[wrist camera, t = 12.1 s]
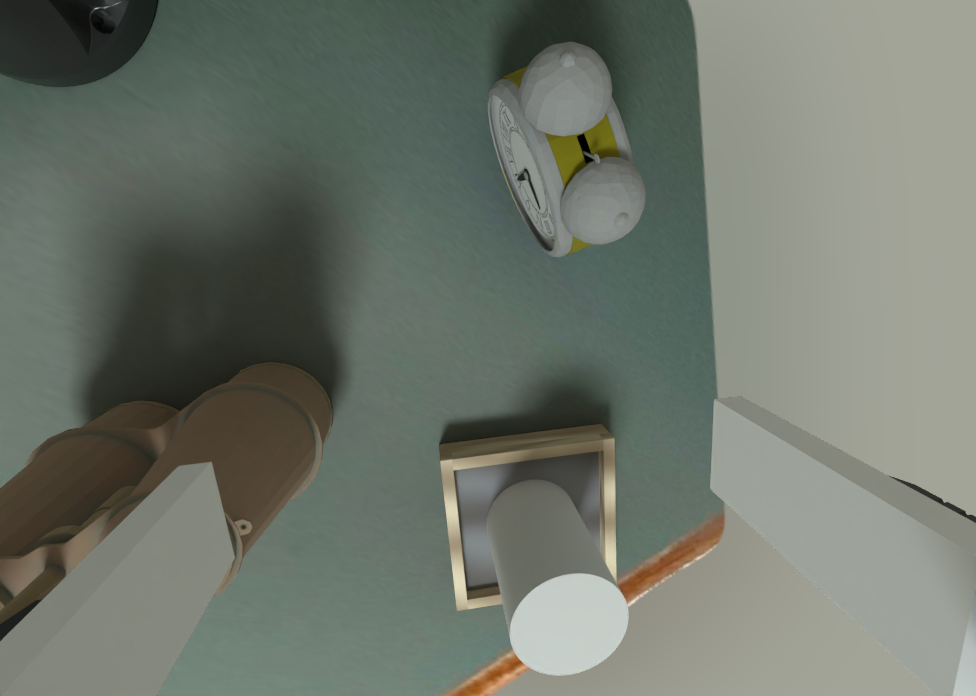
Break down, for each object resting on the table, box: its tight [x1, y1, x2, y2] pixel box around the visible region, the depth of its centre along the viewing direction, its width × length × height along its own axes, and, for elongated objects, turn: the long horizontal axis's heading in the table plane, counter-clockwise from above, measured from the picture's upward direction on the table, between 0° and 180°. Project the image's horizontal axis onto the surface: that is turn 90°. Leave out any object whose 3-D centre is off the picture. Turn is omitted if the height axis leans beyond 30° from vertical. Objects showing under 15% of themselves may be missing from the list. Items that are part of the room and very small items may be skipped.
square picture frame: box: [439, 424, 616, 611], centre depth 45 cm, size 15×15×3 cm
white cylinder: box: [486, 479, 629, 675], centre depth 38 cm, size 8×8×12 cm
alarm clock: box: [487, 42, 645, 257], centre depth 32 cm, size 12×7×15 cm, turn 23°
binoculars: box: [0, 362, 333, 624], centre depth 29 cm, size 21×10×25 cm, turn 105°
